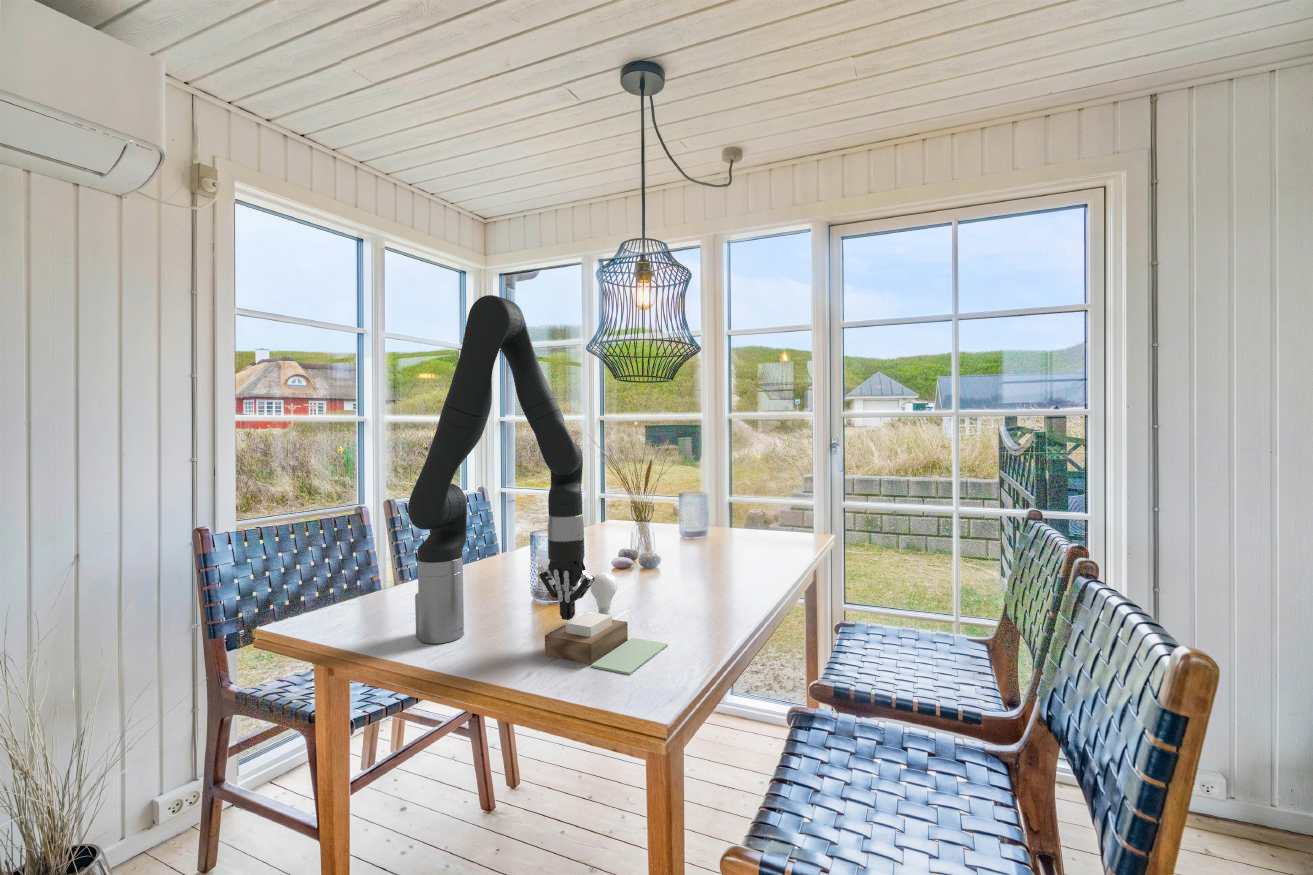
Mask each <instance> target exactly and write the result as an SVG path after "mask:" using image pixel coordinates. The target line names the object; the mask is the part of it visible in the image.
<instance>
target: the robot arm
mask: <svg viewBox="0 0 1313 875" xmlns="http://www.w3.org/2000/svg"><path fill="white" fill-rule="evenodd" d="M464 330H465V331H464V335H463V339H462V340H463V341H462V344H461V348H460V349H461V350H460V354H459V356H458V357H459V358H458V361H457V364H456V367H455V369H454V373H453V376H452V380H451V382H450V386H449V389H448V392H447V394H446V397H445V400H444V403H443V407H442V410H441V412H440V416H439V419H438V424H437V428H436V430H435V433H434V436H433V439H432V442H431V444H430V447H429V450H428V454H427V457H426V460H425V462H424V464H423V467H422V468H421V471H420V473H419V475H418V478H417V479H416V482H415V485H414V487H413V489H412V491H411V494H410V496H409V500H408V506H407V508H408V510H407V512H408V517H409V520H410V522H411V524H412V525H413V526H414V527H415V528H417V529H420V530H430V532H429V535H428V536H427V538H426V539H425V540H424V541H423V542H422V543H421V544H420V545H419V546H418V547H417V551H416V552H417V555H416V556H417V587H418V588H417V589H418V590H417V591H418V592H416V594H414V600H415V602H414V605H415V606H414V608H415V610H414V611H415V613H414V614H415V638H417V639H418V640H419V641H420V642H421V643H424V644H425V643H426V644H433V645H434V644H435V645H436V644H444V643H448V642H453V641H456V640H459V639H460V638H462V637H463V636H464V635H465V620H464V617H465V615H464V614H465V613H464V612H465V610H464V608H465V607H464V568H463V567H464V564H463V562H464V561H463V551H464V550H463V549H464V546H465V544H466V540H467V525H468V524H467V523H468V520H467V519H468V518H467V517H468V508H467V506H468V505H467V499H466V496H465V494H464V491H463V490H462V488H461V487H460V486H458V485H457V484H455V483H452V482H453V479H454V476H455V474H456V472H457V471H458V469H459V467H460V466H461V464H462V463H463V462H464V460H466V458H467V456H468V455H470V453H471V452H472V451H473V450H474V448H475V446H477V444H478V443H479V442H480V440H481V438H482V437H483V434H484V431H485V428H486V425H487V422H488V419H489V416H490V414H491V409H492V402H493V387H492V386H493V381H492V380H493V379H492V378H493V370H494V366H495V362H496V360H497V357H498V354H499V351H501V352H502V353H503V355H504V356H505V359H506V361H507V363H508V366H509V368H510V371H511V375H512V378H513V383H514V387H515V388H514V389H515V391H516V392H515V393H516V396H517V400H518V402H519V403H518V404H520V407H521V410H522V412H523V414H524V416H525V418H526V421H527V422H528V424H529V426H530V428H531V430H532V431H533V433H534V435H535V439H536V442H537V445H538V447H539V451H540V453H541V456H542V458H543V461H544V463H545V464H546V466H547V468H548V469H549V470H550V488H549V491H548V495H547V496H548V498H547V499H548V501H547V505H548V506H547V508H548V518H547V519H548V521H547V558H548V560H549V562H548V565H547V569H546V570H545V571H542V572H540V573H539V578H540V580H541V581H542V583H543V585H544V587H545V589H546V590H547V591H548V593H549V595H550V597H551V598H553V599H557V600H558V601H559V615H560V617H561V620H564V621H565V620H566V621H571V620H572V619H574V616H575V614H576V605H575V604H576V603H575V602H576V601H578V600H579V599H582V598H583V597H584V595H585V594H587V591H588V590H590V586H591V585H592V583H593V582H594V580H595V577H594V576H595V575H590V574H589V573H588V572H587V571H586V566H585V564H584V559H585V524H584V523H585V522H584V516H583V515H584V514H583V494H582V483H583V482H582V480H583V466H584V464H583V461H584V459H583V452H582V449H581V447H580V446H579V444H577V443H575V442H574V440H573V439H572V437H571V435H570V433H569V431H568V428H567V426H566V424H565V419H564V418H565V417H564V415H563V413H562V411H561V409H560V406H559V405H558V402H557V400H556V398H555V396H554V394H553V392H552V390H551V387H550V386H549V384H548V382H547V379H546V377H545V375H544V372H543V370H542V368H541V366H540V362H539V361H538V357H537V355H536V352H535V349H534V346H533V343H532V340H531V336H530V333H529V330H528V326H527V322H526V319H525V317H524V313H523V312H522V309H521V307H520V306H518V304H516V303H515V302H514V301H512V300H510V299H508V298H504V297H501V296H497V295H493V294H488V295H487V294H486V295H483V296H480V297H479V298H478V299H476V301H475V302H474V303H473V304H472V306H471V307H470V310H469V313H468V315H467V320H466V324H465V329H464ZM579 583H580V584H579Z"/></svg>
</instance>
